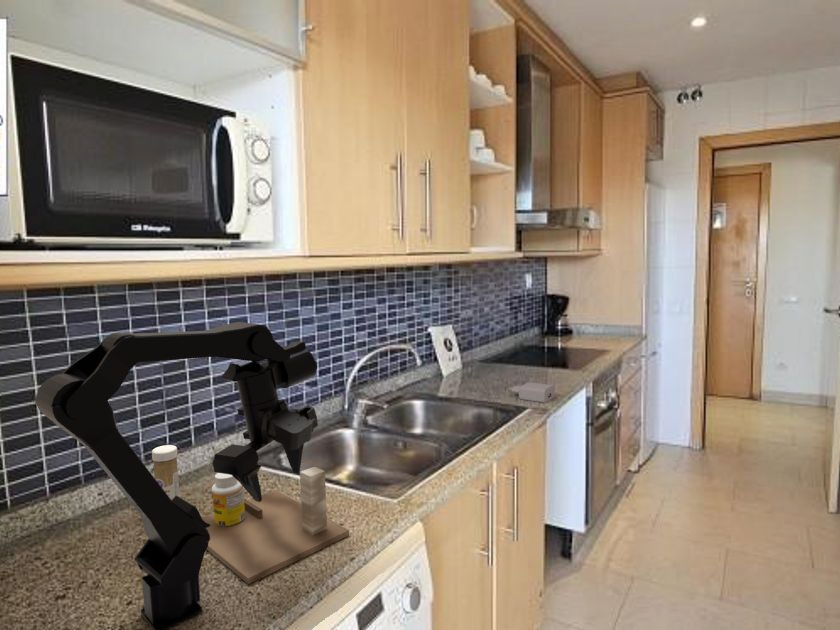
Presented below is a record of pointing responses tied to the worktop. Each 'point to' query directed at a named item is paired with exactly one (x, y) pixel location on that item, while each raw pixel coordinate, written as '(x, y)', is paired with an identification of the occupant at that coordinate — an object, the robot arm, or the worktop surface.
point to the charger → (534, 392)
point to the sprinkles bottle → (166, 469)
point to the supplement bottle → (227, 501)
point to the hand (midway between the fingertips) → (278, 486)
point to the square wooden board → (276, 530)
